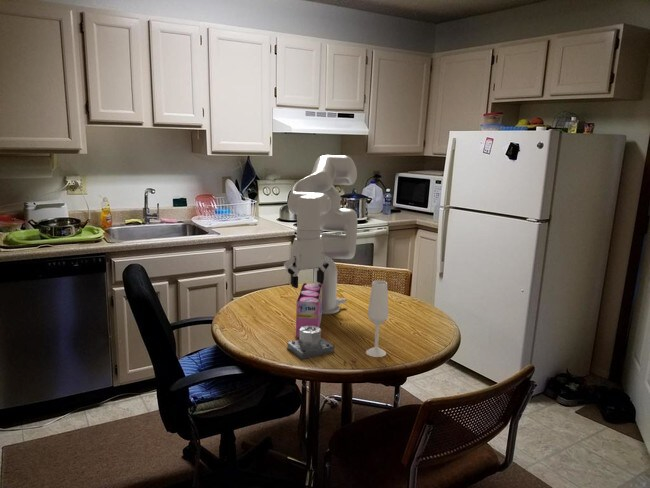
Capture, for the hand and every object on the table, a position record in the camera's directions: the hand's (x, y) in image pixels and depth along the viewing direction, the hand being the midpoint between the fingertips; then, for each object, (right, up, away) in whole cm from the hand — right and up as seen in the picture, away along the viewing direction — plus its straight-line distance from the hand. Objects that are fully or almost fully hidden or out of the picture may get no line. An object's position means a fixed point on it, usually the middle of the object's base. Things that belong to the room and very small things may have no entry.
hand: (307, 285), depth 158 cm
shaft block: (+1, -21, 0) cm, 22 cm away
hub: (+1, -19, 0) cm, 19 cm away
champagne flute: (+23, -22, 0) cm, 32 cm away
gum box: (0, -18, +21) cm, 27 cm away
